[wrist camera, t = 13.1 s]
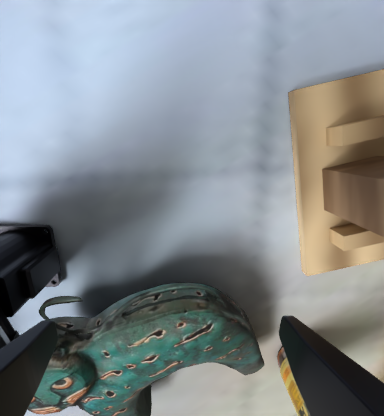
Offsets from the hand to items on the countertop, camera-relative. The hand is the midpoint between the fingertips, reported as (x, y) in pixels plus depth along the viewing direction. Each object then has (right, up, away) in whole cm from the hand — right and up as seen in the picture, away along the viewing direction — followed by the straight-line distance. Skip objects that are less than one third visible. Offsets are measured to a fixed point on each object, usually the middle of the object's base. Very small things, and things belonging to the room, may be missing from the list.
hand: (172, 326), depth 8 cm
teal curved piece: (+1, -16, +17) cm, 24 cm away
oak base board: (+16, +7, +12) cm, 22 cm away
